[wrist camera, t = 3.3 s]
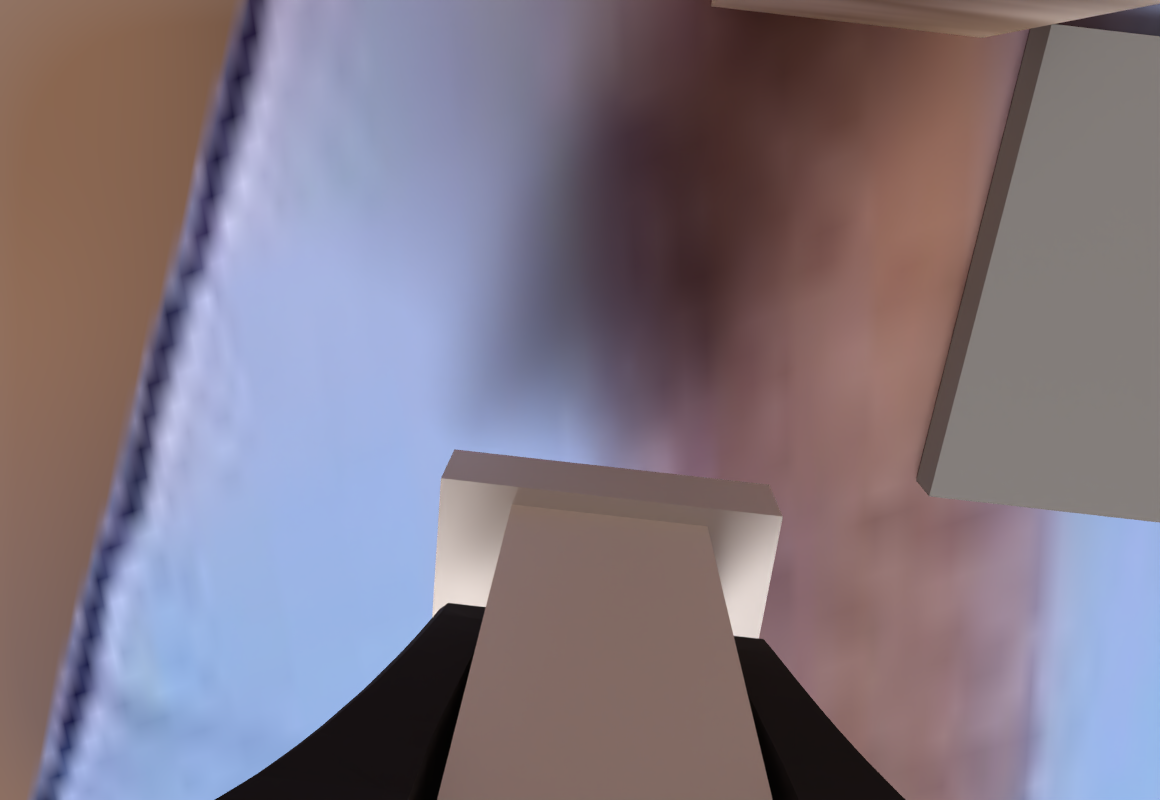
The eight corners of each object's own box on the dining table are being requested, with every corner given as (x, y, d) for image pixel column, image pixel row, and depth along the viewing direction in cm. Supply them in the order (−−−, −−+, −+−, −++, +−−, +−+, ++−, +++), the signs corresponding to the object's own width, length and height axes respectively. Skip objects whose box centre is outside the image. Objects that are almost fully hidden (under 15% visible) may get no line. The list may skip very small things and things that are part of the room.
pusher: (769, 485, 14) (990, 996, 6) (733, 670, 15) (879, 1322, 7) (454, 449, 14) (236, 913, 6) (441, 638, 15) (244, 1250, 7)
